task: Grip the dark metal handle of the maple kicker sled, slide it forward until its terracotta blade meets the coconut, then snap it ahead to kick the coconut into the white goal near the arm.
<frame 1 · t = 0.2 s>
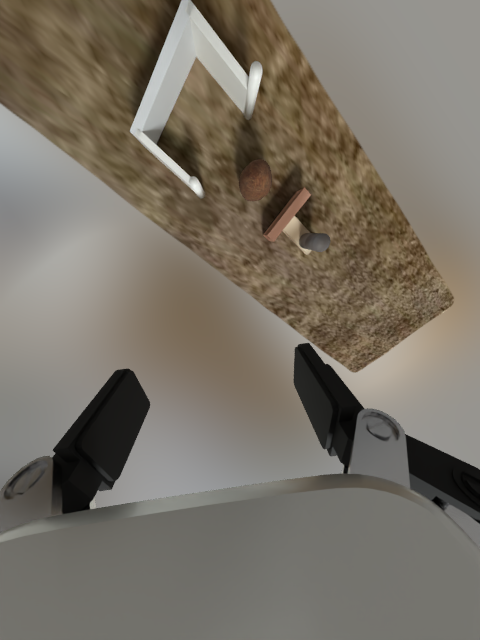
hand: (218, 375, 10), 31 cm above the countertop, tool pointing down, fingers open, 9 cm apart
coconut: (251, 187, 31), on the countertop
kicker sled: (302, 232, 31), point 4 cm above the countertop, slide at 0.0 cm
goal: (199, 132, 27), on the countertop
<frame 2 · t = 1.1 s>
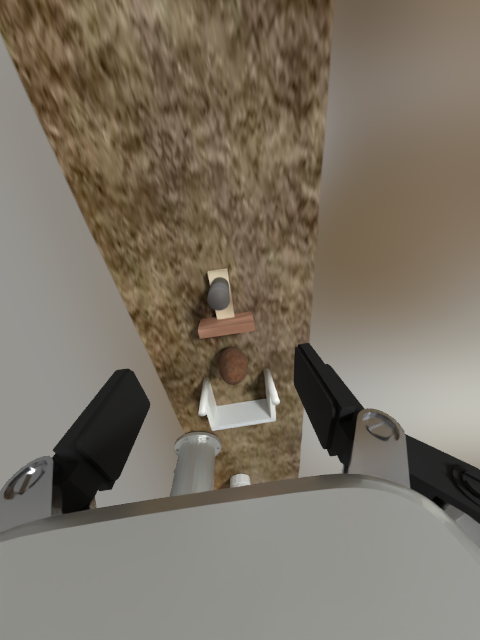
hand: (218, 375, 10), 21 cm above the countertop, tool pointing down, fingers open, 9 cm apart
white cup: (239, 477, 59), on the countertop
coconut: (232, 350, 35), on the countertop
kicker sled: (222, 307, 26), point 4 cm above the countertop, slide at 0.0 cm
goal: (239, 389, 40), on the countertop
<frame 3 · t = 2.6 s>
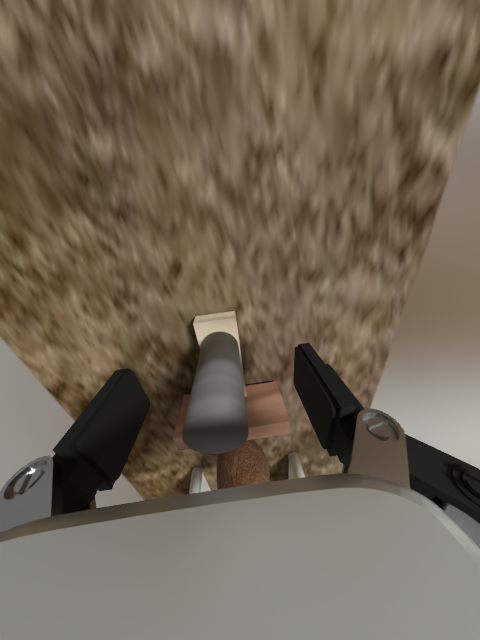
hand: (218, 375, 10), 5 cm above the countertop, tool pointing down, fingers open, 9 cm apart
coconut: (239, 432, 21), on the countertop
kicker sled: (225, 399, 12), point 4 cm above the countertop, slide at 0.0 cm
goal: (248, 477, 26), on the countertop
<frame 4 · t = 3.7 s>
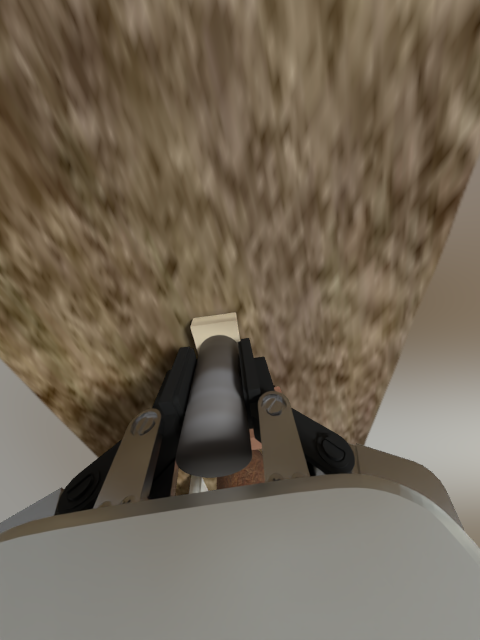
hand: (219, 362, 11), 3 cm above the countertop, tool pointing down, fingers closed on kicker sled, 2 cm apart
coconut: (240, 437, 20), on the countertop
kicker sled: (225, 408, 11), point 4 cm above the countertop, slide at 0.0 cm, touching gripper
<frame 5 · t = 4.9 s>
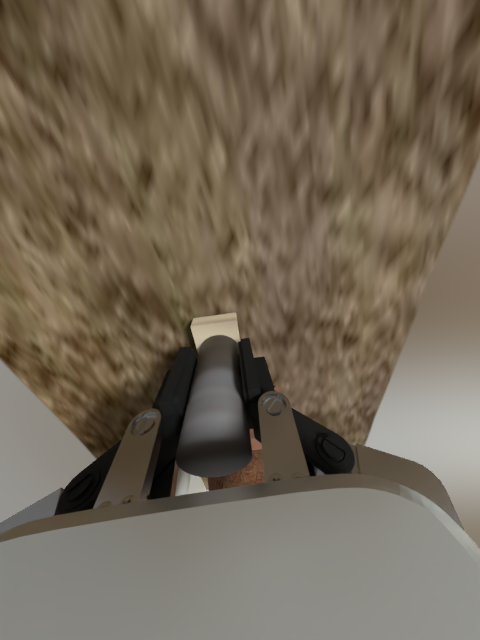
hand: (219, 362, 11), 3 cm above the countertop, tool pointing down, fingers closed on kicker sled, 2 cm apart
coconut: (235, 416, 18), on the countertop, touching kicker sled
kicker sled: (225, 409, 11), point 4 cm above the countertop, slide at 4.6 cm, touching gripper, coconut
goal: (245, 468, 23), on the countertop
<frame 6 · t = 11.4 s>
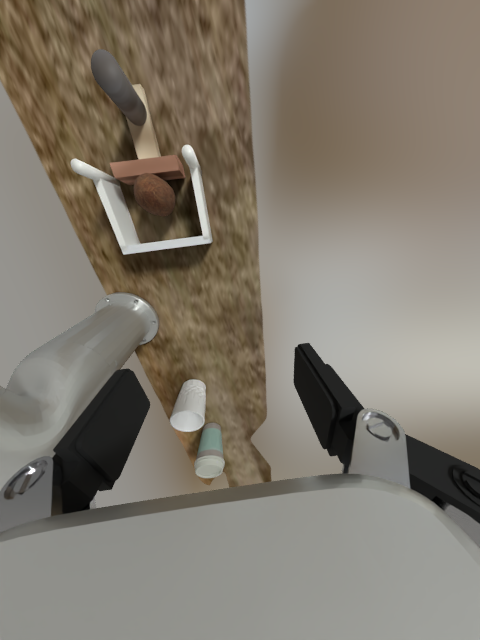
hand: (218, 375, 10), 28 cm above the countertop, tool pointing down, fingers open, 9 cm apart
white cup: (194, 386, 49), on the countertop
coffee cup: (212, 427, 58), on the countertop
coconut: (164, 200, 29), on the countertop, touching kicker sled
kicker sled: (134, 126, 22), point 4 cm above the countertop, slide at 13.7 cm, touching coconut
goal: (165, 211, 30), on the countertop
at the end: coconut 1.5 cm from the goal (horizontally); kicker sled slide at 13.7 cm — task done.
